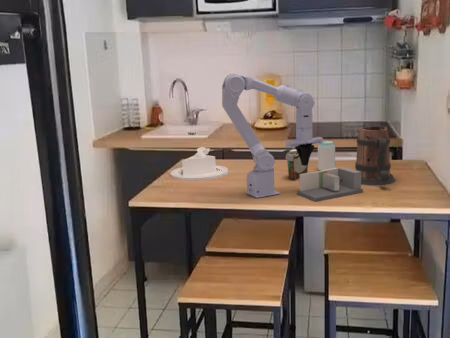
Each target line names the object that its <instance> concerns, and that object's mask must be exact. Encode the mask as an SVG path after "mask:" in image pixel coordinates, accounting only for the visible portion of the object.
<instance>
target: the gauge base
mask: <svg viewBox="0 0 450 338" xmlns="http://www.w3.org/2000/svg"><path fill="white" fill-rule="evenodd" d="M323 172H325V173H330V174H333V175H336V176H339V178H342V182H340V183H339V191H332V190H329V189H326V188H324V187H322V173H323ZM361 193H364V188H362V185H361V172H360V171H357V170H356V169H352V168H350V167H346V166H345V167H344V166H343V167H335V168H333V169H327V170H321V171H320V170H316V171H311V172H308V173H303V174H300V179H299V190H297V191H296V194H297V195H298V196H300V197H303V198H306V199H308V200H311V201H313V202H322V201H326V200H331V199H336V198H341V197H345V196H349V195H350V196H351V195H355V194H356V195H357V194H361Z"/></svg>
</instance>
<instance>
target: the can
mask: <svg viewBox="0 0 450 338" xmlns="http://www.w3.org/2000/svg"><path fill="white" fill-rule="evenodd" d="M333 168H336V145H335V143H334V141H332V140H323V143H318V146H317V169H318V171H321V170H327V169H333Z"/></svg>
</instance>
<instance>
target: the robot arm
mask: <svg viewBox="0 0 450 338" xmlns="http://www.w3.org/2000/svg"><path fill="white" fill-rule="evenodd" d="M221 89H222V91H221V95H222V96H221V106H222V108H223V110H224V111H225V113H226V115H227V116H228V117H229V120H230V121H231V122H232V124H233V125H234V127H235V129H236V130H237V132H238V134H239V135H240V136H241V138H242V139H243V141H244V143H245V145H246V146H247V147H248V150H249V151H250V152H251V154H252V160H253V162H254V164H255V165H254V166H253V170H251V171H248V172H247V174H246V192H245V194H247V195H250V196H251V197H253V198H255V199H259V198H265V197H271V196H274V195H280V192H279V191H276V190H275V167H274V165H275V158H274V156H273V155H272V154H271V153H270V152H269V151H268V150H267V149H266V148H265V147H264V145H263V144H262V143H261V141H260V139H259V138H258V136H257V134H256V133H255V132H254V130H253V128H252V127H251V125H250V124H249V121H248V120H247V118H246V117H245V115H244V113H242V111H241V109H240V107H239V106H238V102H239V99H240V96H241V94H242V93H243V92H244V91H251V90H256V91H259V92H262V93H265V94H268V95H272V96H273V97H274V99H275V101H277V102H280V103H282V104H286V105H289V106H291V107H295V139H292V140H288V141H285V148H288V149H290V148H294V149H296V150H297V152H298V154H299V157H300V160H301V164H302V165H304V166H307V165H308V166H309V162H310V158H311V155H312V153H313V151H314V149H315V144H319V143H323V141H324V138H323V137H321V136H317V137H313V134H314V133H313V108H314V106H315V103H316V102H315V100H314V97H313V96H312V95H311V94H310V93H306V92H304V91H303V90H301V89H298V90H297V89H295V88H293V87H290V85H289V84H286V83H285V84H281V85H279V86H275V85H273V84H270V83H267V82H264V81H262V80H260V79H257V78H255V77H251V76H247V75H246V76H245V75H239V74H236V73H230V74H227V75H226V76H225V78H224V80H223V83H222V86H221Z"/></svg>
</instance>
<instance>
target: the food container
mask: <svg viewBox="0 0 450 338" xmlns="http://www.w3.org/2000/svg"><path fill="white" fill-rule="evenodd" d="M285 160H286V161H287V162H286V163H287V169H288V170H287V172H288V179H289V180H291V181H299V180H300V174H303V173H309V172H308V171H309V170H308V169H309V168H308V167H309V164H308V165H307V166H304V165H302V164H301V160H300V157H299V154H298V152H297V151H291V152H290V151H287V153H286V154H285Z"/></svg>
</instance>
